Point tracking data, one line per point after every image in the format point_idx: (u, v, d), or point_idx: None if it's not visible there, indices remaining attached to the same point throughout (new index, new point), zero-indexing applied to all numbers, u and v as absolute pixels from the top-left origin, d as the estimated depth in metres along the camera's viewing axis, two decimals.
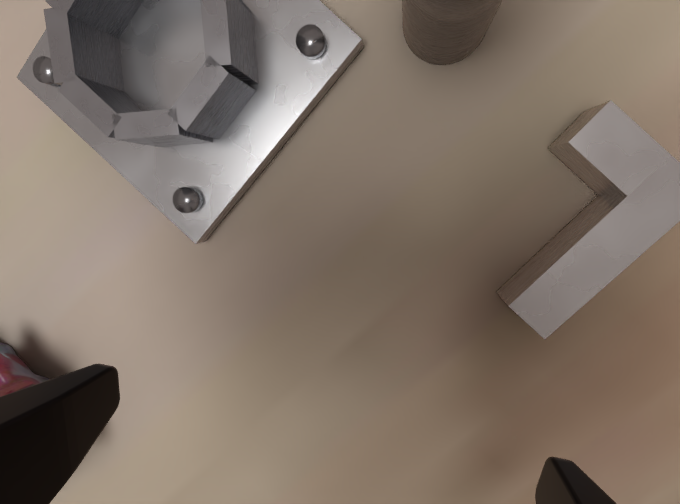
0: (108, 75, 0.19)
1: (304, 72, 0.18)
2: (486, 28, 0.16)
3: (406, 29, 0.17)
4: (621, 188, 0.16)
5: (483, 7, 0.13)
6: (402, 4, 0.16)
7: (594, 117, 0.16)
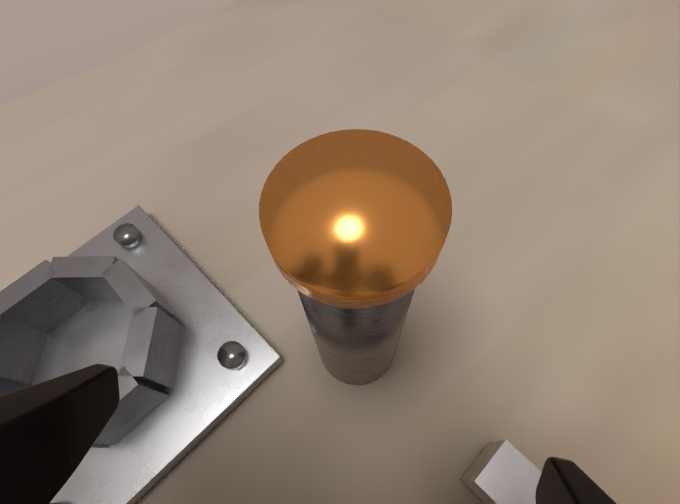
0: (20, 369, 0.18)
1: (221, 382, 0.19)
2: (388, 361, 0.18)
3: None
4: None
5: (375, 354, 0.15)
6: None
7: (494, 456, 0.16)
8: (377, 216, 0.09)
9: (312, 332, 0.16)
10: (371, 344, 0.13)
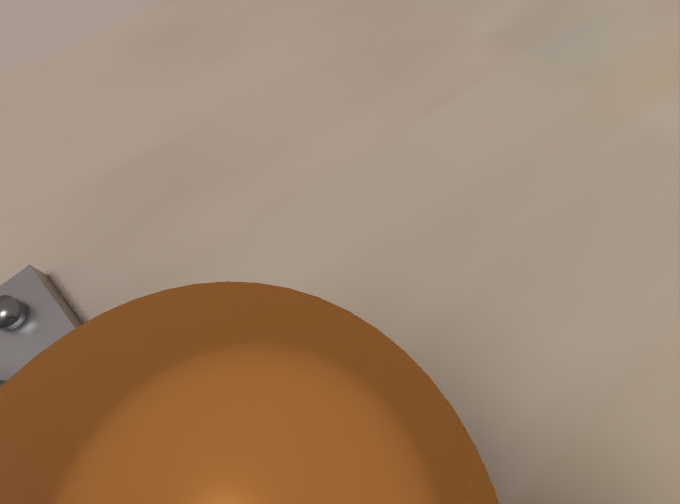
0: None
1: None
2: None
3: None
4: None
5: None
6: None
7: None
8: None
9: None
10: None
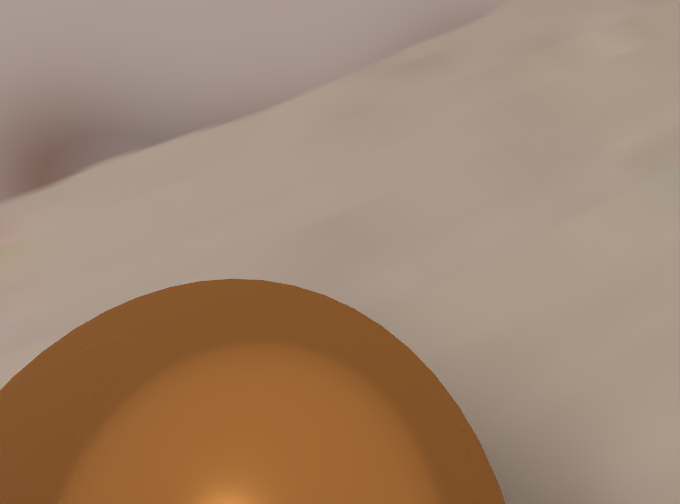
0: None
1: None
2: None
3: None
4: None
5: None
6: None
7: None
8: None
9: None
10: None
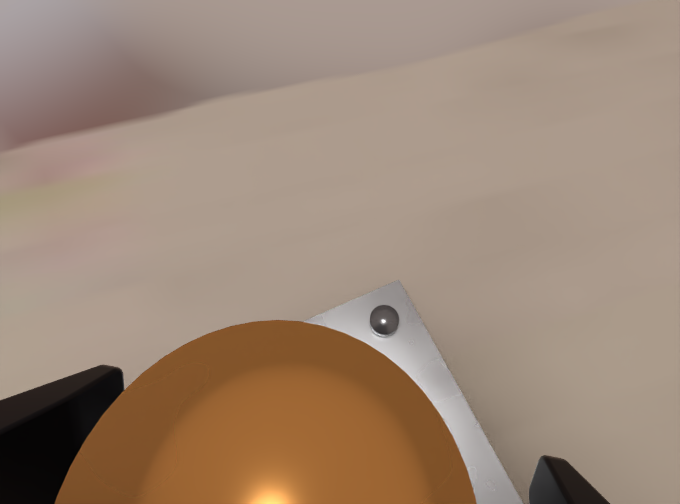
0: None
1: None
2: None
3: None
4: None
5: None
6: None
7: None
8: None
9: None
10: None
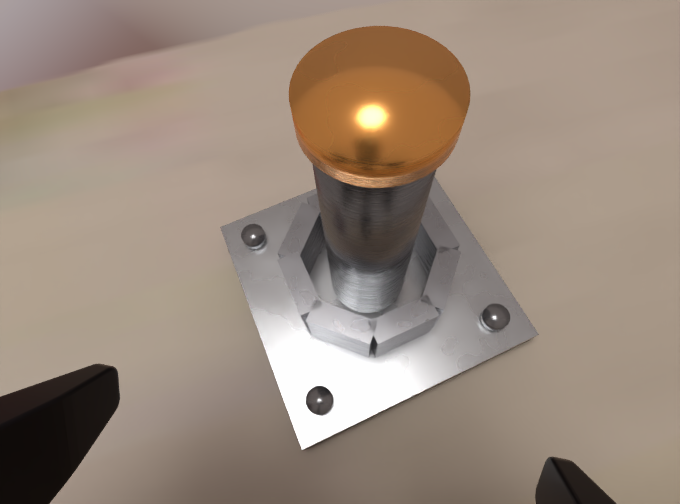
0: (309, 263, 0.21)
1: (478, 337, 0.20)
2: (398, 286, 0.19)
3: (332, 281, 0.19)
4: None
5: (389, 268, 0.16)
6: None
7: None
8: (400, 99, 0.10)
9: (328, 251, 0.16)
10: (387, 251, 0.14)
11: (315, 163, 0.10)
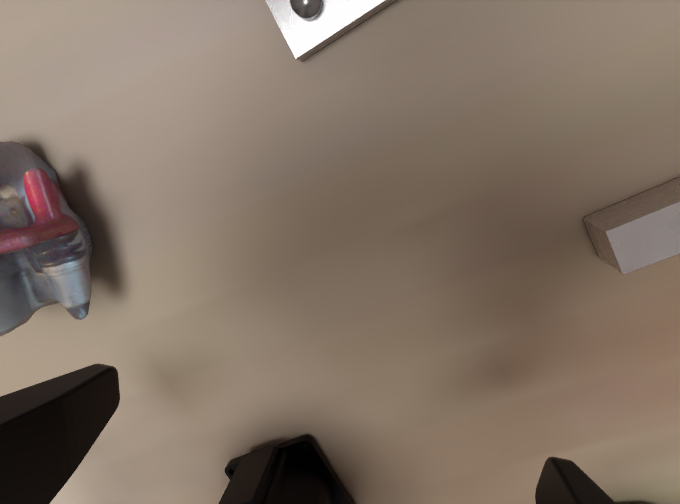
0: None
1: None
2: None
3: None
4: None
5: None
6: None
7: None
8: None
9: None
10: None
11: None
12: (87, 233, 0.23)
